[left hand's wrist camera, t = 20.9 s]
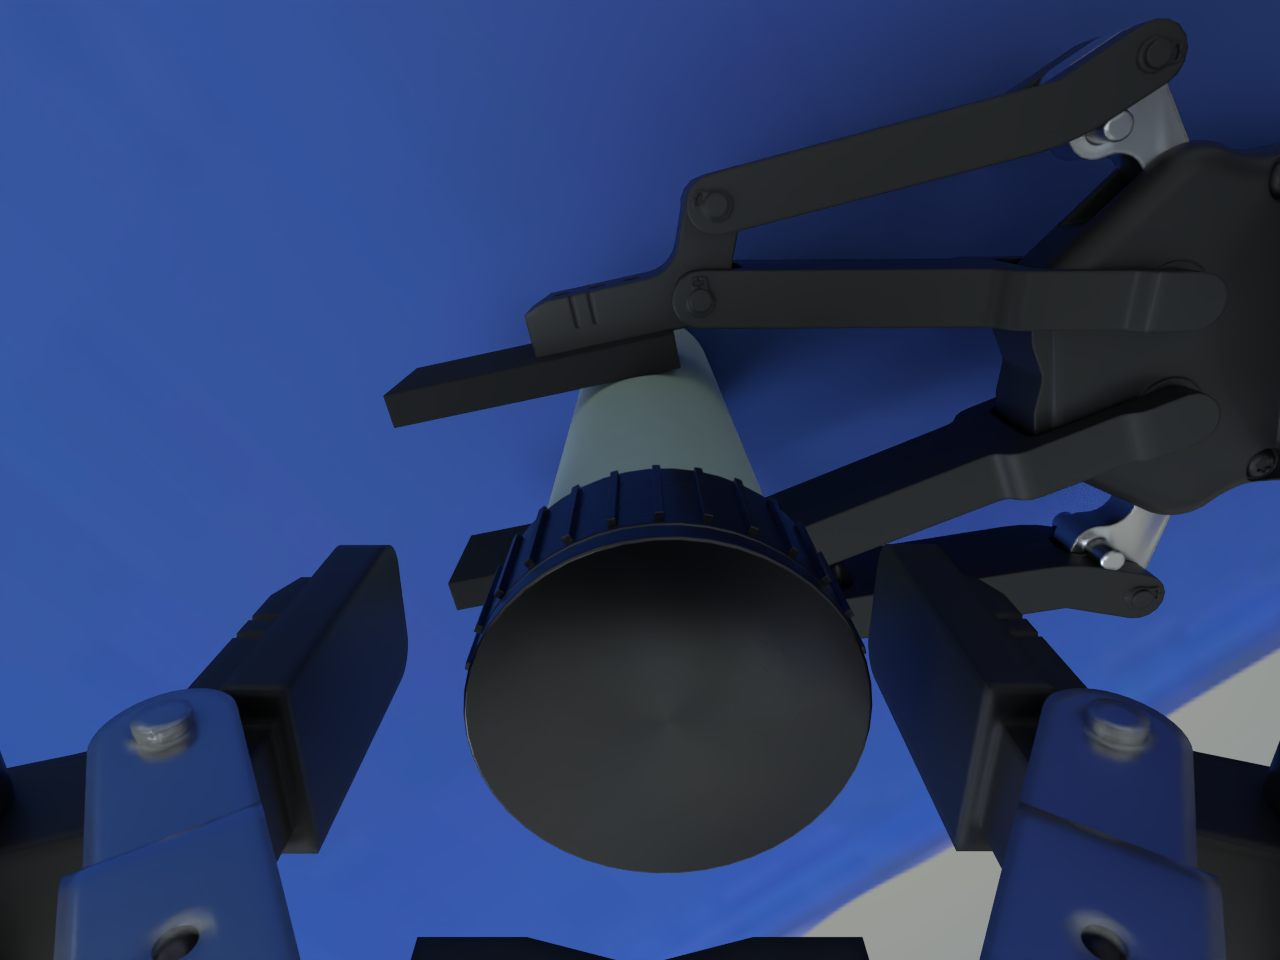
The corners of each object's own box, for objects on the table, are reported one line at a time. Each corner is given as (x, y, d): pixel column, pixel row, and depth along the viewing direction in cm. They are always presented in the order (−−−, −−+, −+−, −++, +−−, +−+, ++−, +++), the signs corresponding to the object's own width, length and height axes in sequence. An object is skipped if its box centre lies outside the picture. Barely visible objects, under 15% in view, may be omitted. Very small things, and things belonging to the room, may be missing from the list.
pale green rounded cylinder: (657, 461, 26) (688, 856, 11) (561, 389, 25) (442, 709, 10) (735, 368, 25) (894, 662, 9) (637, 290, 24) (638, 474, 9)
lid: (713, 390, 10) (734, 443, 8) (894, 659, 11) (952, 763, 9) (418, 585, 11) (368, 678, 9) (621, 808, 12) (618, 932, 10)
